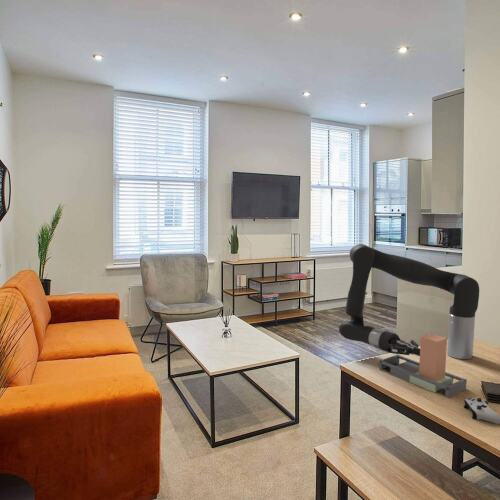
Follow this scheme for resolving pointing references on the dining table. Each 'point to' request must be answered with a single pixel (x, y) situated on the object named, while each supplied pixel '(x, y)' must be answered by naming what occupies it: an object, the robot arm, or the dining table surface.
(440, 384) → the box
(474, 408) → the gaming controller
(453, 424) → the dining table surface
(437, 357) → the terracotta block
